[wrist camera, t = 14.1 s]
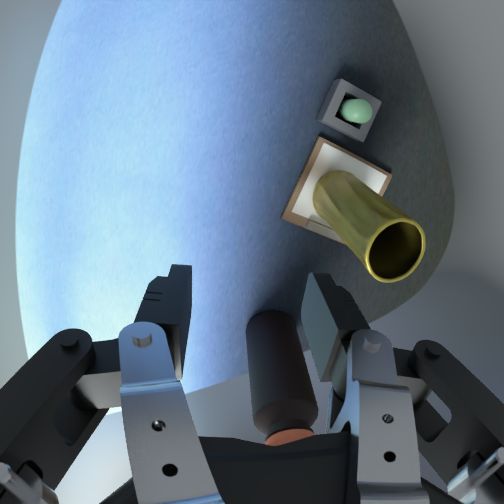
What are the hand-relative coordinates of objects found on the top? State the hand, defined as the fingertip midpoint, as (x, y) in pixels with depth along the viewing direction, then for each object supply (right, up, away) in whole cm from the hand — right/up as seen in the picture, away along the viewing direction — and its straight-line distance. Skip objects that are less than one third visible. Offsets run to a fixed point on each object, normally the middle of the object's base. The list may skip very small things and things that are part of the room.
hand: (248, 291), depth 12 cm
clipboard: (+10, +8, +23) cm, 26 cm away
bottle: (+3, -9, +31) cm, 32 cm away
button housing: (+10, +17, +19) cm, 27 cm away
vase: (+10, +8, +22) cm, 26 cm away
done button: (+10, +16, +17) cm, 26 cm away
